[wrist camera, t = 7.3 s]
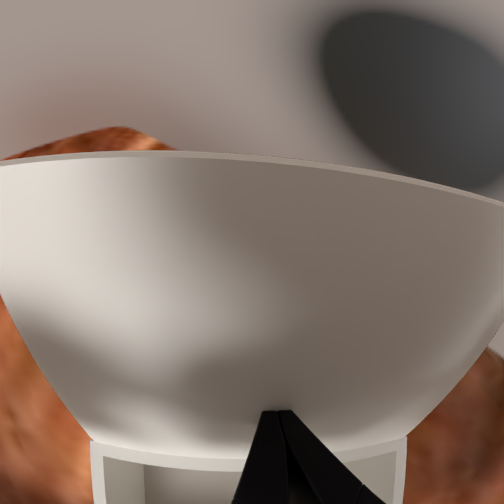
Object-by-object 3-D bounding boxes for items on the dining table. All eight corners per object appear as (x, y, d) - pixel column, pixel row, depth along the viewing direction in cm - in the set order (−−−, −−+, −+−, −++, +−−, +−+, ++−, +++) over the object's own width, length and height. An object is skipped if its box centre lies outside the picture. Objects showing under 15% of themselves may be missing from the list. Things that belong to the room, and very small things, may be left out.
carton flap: (552, 223, 5) (541, 214, 5) (-36, 172, 3) (-21, 163, 4) (403, 437, 10) (401, 428, 11) (94, 441, 9) (96, 431, 10)
